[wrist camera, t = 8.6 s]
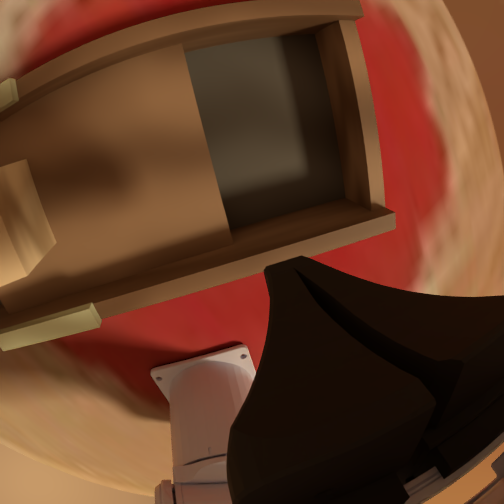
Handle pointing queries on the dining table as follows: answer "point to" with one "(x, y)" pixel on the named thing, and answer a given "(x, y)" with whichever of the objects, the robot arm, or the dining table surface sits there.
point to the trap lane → (191, 158)
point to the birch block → (21, 223)
